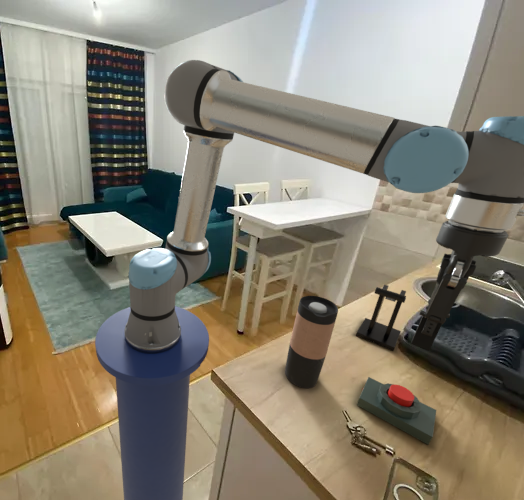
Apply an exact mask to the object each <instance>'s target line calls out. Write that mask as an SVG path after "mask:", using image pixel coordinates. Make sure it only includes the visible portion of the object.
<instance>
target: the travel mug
mask: <svg viewBox="0 0 524 500" xmlns="http://www.w3.org/2000/svg"><path fill="white" fill-rule="evenodd" d="M338 314H339V308H338V306H337V305H336V304H335V303H334V302H332V301H331V300H329V299H328V298H324V297H322V296H319V295H304V296H302V297H301V298H300V299H299V301H298V305H297V310H296V315H295V319H294V323H293V328H292V331H291V335H290V340H289V346H288V351H287V357H286V361H285V370H284V375H285V377H286V378H287V380H288V381H289V382H290V383H291V384H292V385H295V386H296V387H298V388H302V389H312V388H314V387H315V386H316V385H317V383H318V381H319V377H320V374H321V372H322V369H323V366H324V362H325V360H326V357H327V354H328V350H329V347H330V343H331V340H332V335H333V331H334V327H335V324H336V322H337V321H336V320H337V317H338Z"/></svg>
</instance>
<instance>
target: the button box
mask: <svg viewBox="0 0 524 500" xmlns="http://www.w3.org/2000/svg"><path fill="white" fill-rule="evenodd" d="M391 385H395V384H394V383H382V382H380V381H378V380H375V379H374V378H372V377H370V376H368V377H367V379H366V382H365V384H364V386H363V388H362V391H361V393H360V395H359V398H358V400H357V403H356V406H357V407H360V408H361V409H363V410H365V411H366V412H369V413H370V414H372V415H374V416H375V417H377V418H378V419H381V420H383V421H385V422H386V423H388V424H390V425H392V426H393V427H395V428H397V429H399V430H401V431H403V432H404V433H406V434H408V435H409V436H411V437H413V438H415V439H417V440H419V441H421V442H422V443H424V444H425V445H430V443H431V442H432V440H433V437H434V431H435V425H436V424H435V422H436V415H437V409H435V408H433V407H431V406H429V405H427V404H426V403H423V402H421V401H420V400H419V399H418V397H417V396H416V395H414V401H413V403H412V405H411V406H410V407H404V406H401V405H399V404H397V403H395V402H393V401H392V400H391V399H390V398H389V396H388V391H389V389H390V386H391Z"/></svg>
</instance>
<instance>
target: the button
mask: <svg viewBox="0 0 524 500" xmlns="http://www.w3.org/2000/svg"><path fill="white" fill-rule="evenodd" d="M388 396H389V398H390V399H391V400H392V401H393V402H395V403H397V404H399V405H401V406H404V407H410V406H411V405H412V403H413V401H414V396H415V394H414V393H413V392H412V391H411V390H410V389H408V388H406V387H405V386H403V385H400V384H394V385H391V386H390V389H389V391H388Z"/></svg>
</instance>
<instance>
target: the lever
mask: <svg viewBox="0 0 524 500" xmlns="http://www.w3.org/2000/svg"><path fill="white" fill-rule="evenodd" d="M382 288H383V287H378V286H376V287H375V289H374V294H375V295H378V296H379V295H381V296H384V297H385V298H384V300H387V301H391V302H394V303H396V302H397V301H400V302H402V303H403V304H405V302H406V300H405V298H406V299H407V296H406V295H405V296H404V295H401V294H400V293H398V292H395V291H392V290H388V289H387V290H385V289H382ZM404 301H405V302H404Z"/></svg>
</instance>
